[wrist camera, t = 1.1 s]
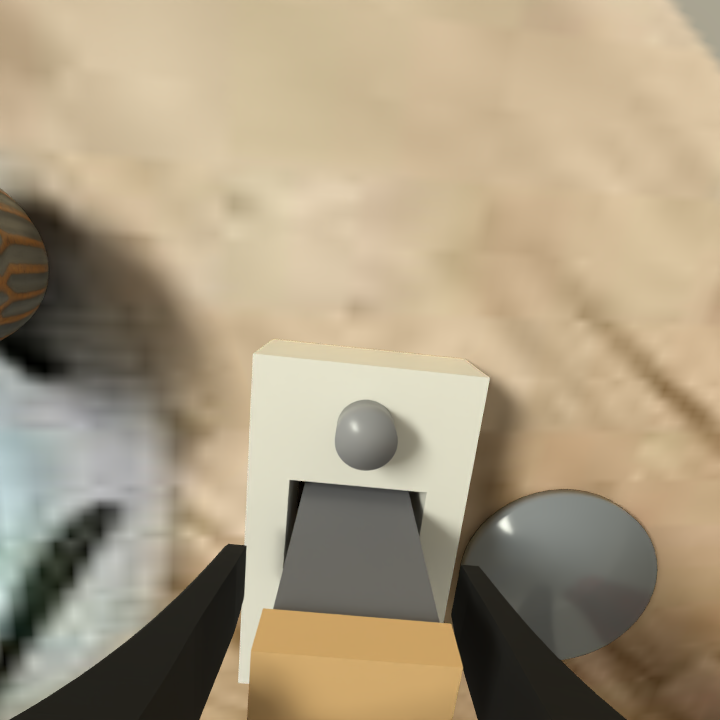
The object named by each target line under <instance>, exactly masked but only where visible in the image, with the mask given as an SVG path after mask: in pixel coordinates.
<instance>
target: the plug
mask: <svg viewBox="0 0 720 720" xmlns="http://www.w3.org/2000/svg"><path fill="white" fill-rule="evenodd" d="M462 671H463V665H462V661H461V658H460V654H459V650H458V647H457V643H456V639H455V636H454V632H453V628H452V625H451V624H449V623H440V621H439V617H438V613H437V609H436V605H435V600H434V596H433V592H432V588H431V584H430V580H429V575H428V571H427V567H426V563H425V559H424V554H423V550H422V546H421V542H420V538H419V533H418V529H417V525H416V521H415V517H414V512H413V508H412V504H411V500H410V496H409V491H406V490H395V489H384V488H373V487H362V486H352V485H341V484H330V483H319V482H308V481H305V485H304V489H303V493H302V497H301V501H300V505H299V509H298V512H297V516H296V520H295V524H294V528H293V532H292V536H291V540H290V544H289V548H288V552H287V556H286V560H285V564H284V568H283V572H282V576H281V580H280V583H279V587H278V591H277V595H276V599H275V603H274V607H273V609H265V608H263V610H262V614H261V617H260V621H259V624H258V628H257V631H256V635H255V638H254V642H253V645H252V649H251V657H250V676H249V695H248V714H247V720H452V718H453V714H454V709H455V704H456V699H457V695H458V690H459V685H460V681H461V676H462Z"/></svg>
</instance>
